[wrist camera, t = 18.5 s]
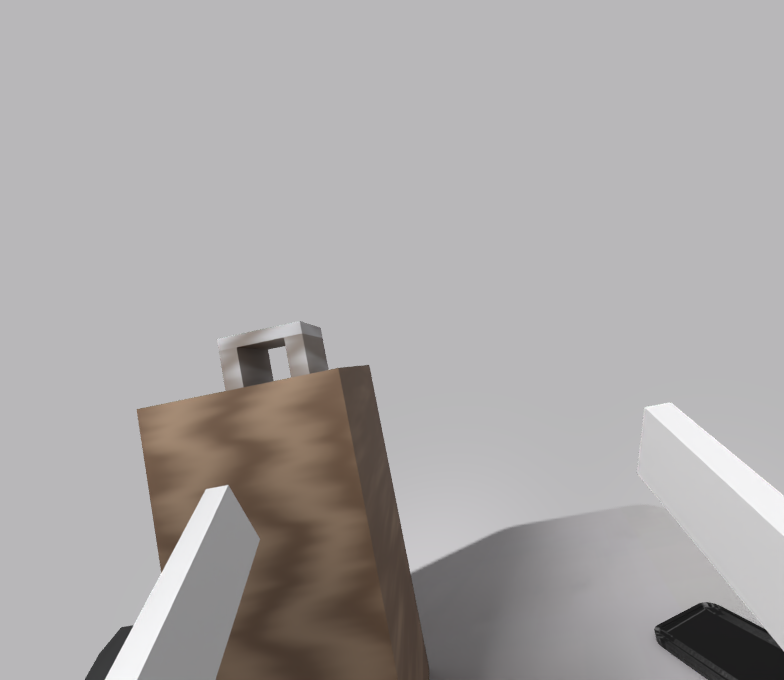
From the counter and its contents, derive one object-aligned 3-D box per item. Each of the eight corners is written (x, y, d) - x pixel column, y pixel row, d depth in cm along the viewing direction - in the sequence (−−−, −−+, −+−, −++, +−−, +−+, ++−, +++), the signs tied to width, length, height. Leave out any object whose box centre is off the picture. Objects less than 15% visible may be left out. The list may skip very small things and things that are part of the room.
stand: (209, 894, 22) (127, 345, 25) (291, 687, 36) (233, 350, 39) (434, 869, 21) (325, 301, 24) (429, 667, 35) (360, 323, 38)
